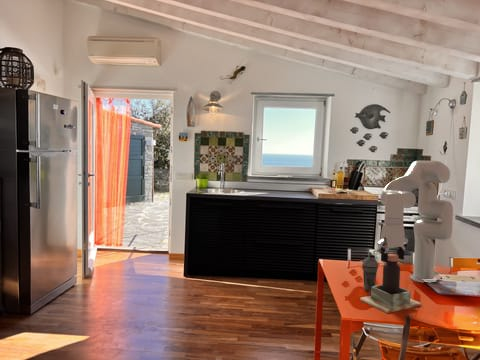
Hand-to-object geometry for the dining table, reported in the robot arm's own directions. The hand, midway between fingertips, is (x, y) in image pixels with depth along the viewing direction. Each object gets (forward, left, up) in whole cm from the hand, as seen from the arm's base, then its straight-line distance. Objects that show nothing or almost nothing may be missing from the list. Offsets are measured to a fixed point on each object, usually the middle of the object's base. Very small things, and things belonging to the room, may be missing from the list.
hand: (392, 260), depth 158 cm
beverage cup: (-3, -16, -19) cm, 25 cm away
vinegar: (+1, 0, -18) cm, 18 cm away
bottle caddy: (+1, 0, -19) cm, 19 cm away
